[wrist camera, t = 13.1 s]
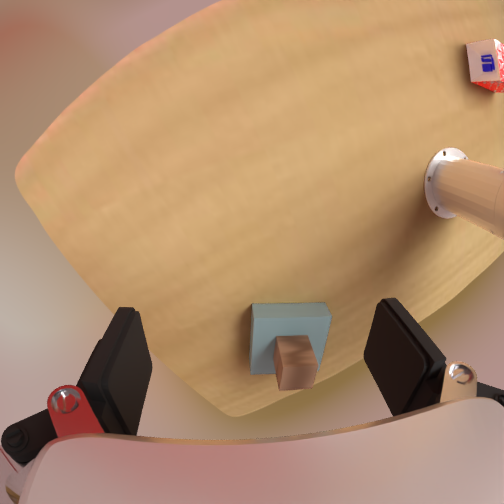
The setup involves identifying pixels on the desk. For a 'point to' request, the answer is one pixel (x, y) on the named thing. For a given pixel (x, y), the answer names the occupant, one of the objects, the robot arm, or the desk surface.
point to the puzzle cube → (487, 64)
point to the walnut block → (294, 362)
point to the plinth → (285, 330)
